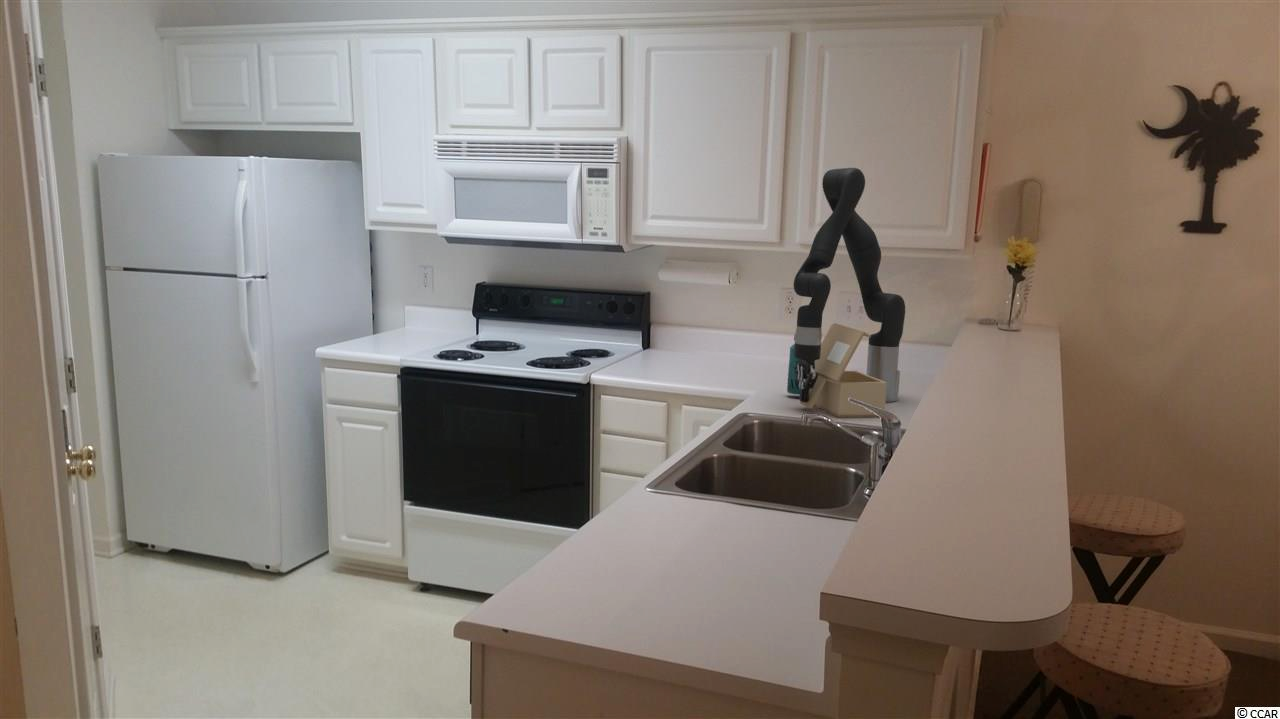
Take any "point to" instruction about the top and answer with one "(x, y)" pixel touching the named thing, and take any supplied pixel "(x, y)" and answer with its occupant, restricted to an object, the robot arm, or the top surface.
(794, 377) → the beverage bottle
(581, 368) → the top surface
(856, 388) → the mailer box
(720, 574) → the top surface
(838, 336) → the lid
